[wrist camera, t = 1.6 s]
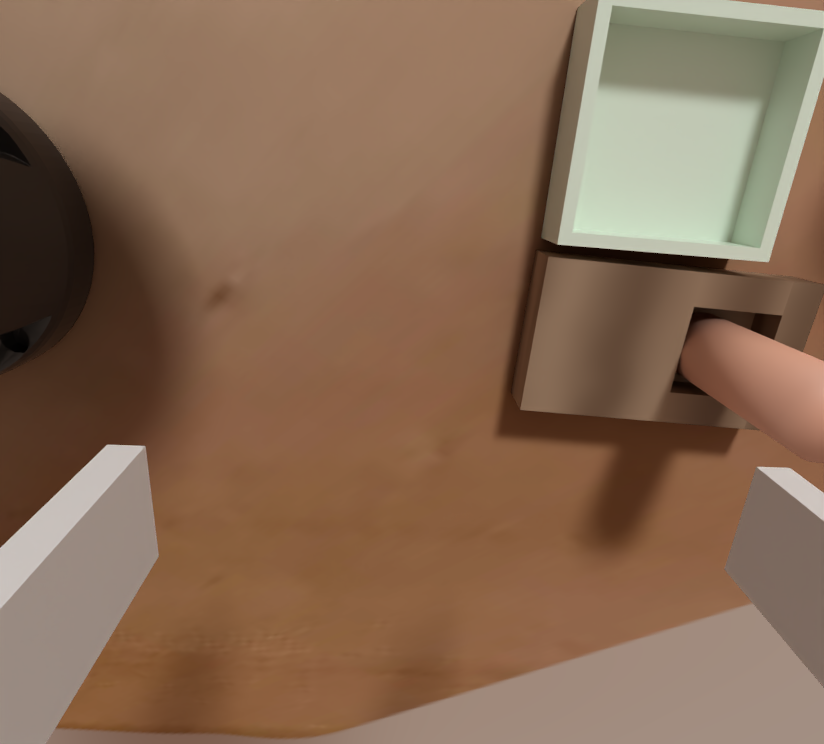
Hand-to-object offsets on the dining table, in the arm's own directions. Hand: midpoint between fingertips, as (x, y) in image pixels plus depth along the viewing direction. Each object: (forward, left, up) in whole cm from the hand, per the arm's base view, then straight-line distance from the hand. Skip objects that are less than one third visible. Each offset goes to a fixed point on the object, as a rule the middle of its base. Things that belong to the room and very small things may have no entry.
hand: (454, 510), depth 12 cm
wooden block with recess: (+13, 0, -19) cm, 23 cm away
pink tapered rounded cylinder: (+15, -1, -18) cm, 24 cm away
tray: (+11, +9, -18) cm, 24 cm away
